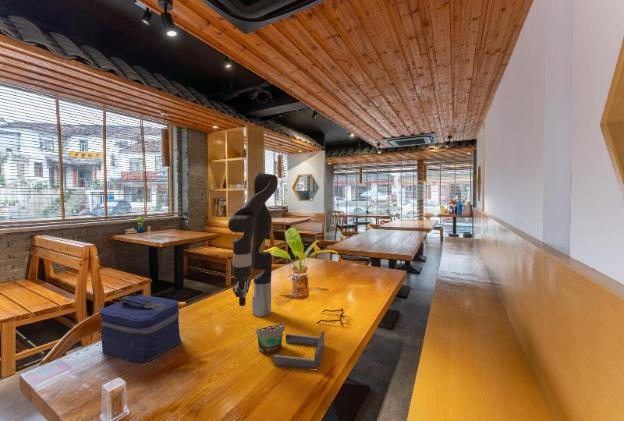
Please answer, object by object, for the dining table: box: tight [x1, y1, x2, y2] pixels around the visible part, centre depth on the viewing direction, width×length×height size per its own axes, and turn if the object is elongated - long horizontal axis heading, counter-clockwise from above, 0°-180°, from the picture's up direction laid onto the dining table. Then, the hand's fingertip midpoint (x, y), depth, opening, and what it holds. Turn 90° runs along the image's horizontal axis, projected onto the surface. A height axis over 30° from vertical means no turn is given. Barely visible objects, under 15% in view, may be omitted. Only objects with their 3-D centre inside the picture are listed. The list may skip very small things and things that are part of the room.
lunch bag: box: [99, 294, 182, 364], centre depth 117 cm, size 31×21×20 cm
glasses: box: [316, 308, 345, 326], centre depth 143 cm, size 13×13×5 cm
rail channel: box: [273, 331, 325, 370], centre depth 111 cm, size 17×17×6 cm
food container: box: [254, 322, 286, 356], centre depth 113 cm, size 12×6×10 cm, turn 117°
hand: (242, 305), depth 114 cm, fingers closed
